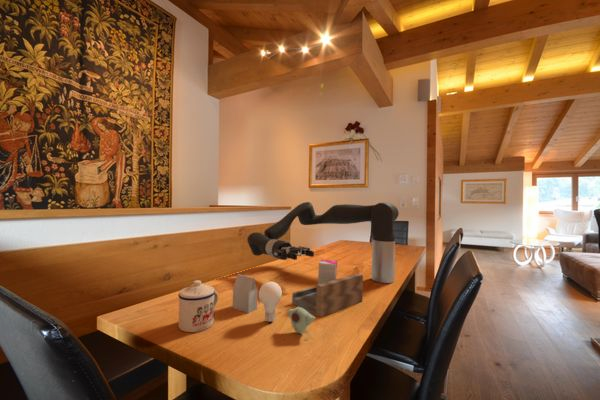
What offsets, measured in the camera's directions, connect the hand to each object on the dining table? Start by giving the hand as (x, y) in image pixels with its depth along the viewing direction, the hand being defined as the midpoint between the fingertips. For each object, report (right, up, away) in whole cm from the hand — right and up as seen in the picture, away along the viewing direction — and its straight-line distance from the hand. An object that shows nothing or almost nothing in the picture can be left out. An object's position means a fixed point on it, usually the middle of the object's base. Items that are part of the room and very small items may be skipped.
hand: (305, 255), depth 101 cm
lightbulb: (-10, -13, -26) cm, 31 cm away
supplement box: (+7, -11, -10) cm, 17 cm away
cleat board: (+7, -13, -11) cm, 18 cm away
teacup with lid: (-29, -13, -27) cm, 42 cm away
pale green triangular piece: (-2, -13, -32) cm, 35 cm away
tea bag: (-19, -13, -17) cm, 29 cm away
